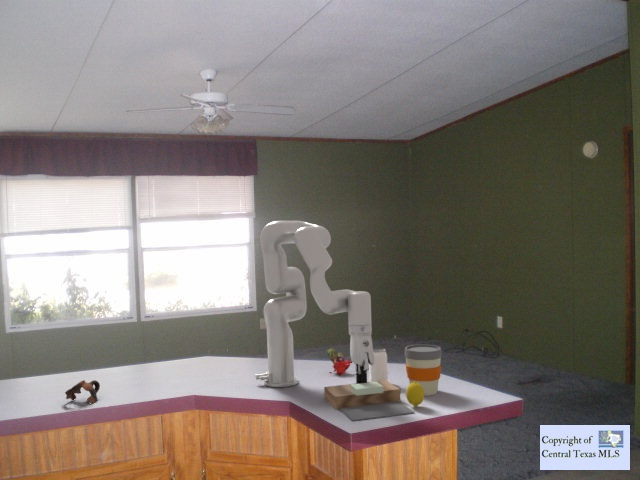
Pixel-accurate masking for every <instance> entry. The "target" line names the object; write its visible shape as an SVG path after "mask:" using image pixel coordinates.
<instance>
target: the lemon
mask: <svg viewBox="0 0 640 480" xmlns="http://www.w3.org/2000/svg"><path fill="white" fill-rule="evenodd" d="M405 396H406V400H407V402H408V403H409V404H410V405H412V406H413V407H414V408H417V407H418V406H419V405H421V404H422V403H423V402H424V399H425V396H424V390H423V387H422V386H421V385H420V384H419V383H417V382H413V383H411V384H410V383H409V384H408V386H407V388H406V394H405Z"/></svg>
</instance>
